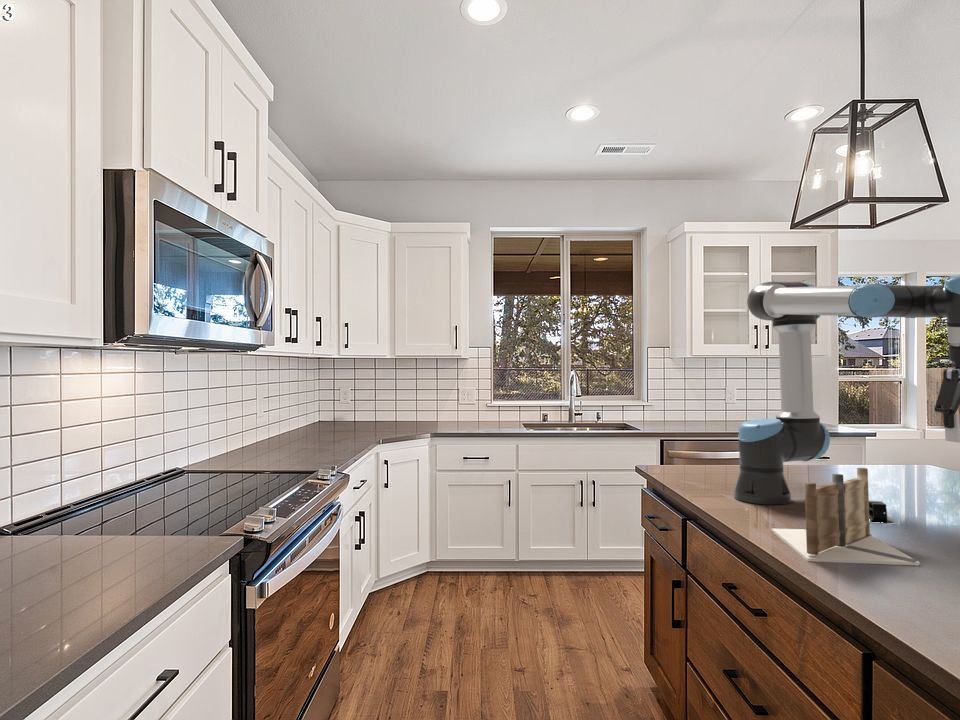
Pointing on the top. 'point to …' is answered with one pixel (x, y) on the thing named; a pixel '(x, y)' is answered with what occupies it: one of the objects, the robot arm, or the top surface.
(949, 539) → the top surface
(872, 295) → the robot arm
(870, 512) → the black blocky piece
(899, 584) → the top surface
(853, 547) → the card
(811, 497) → the panel
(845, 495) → the fixed fence section
